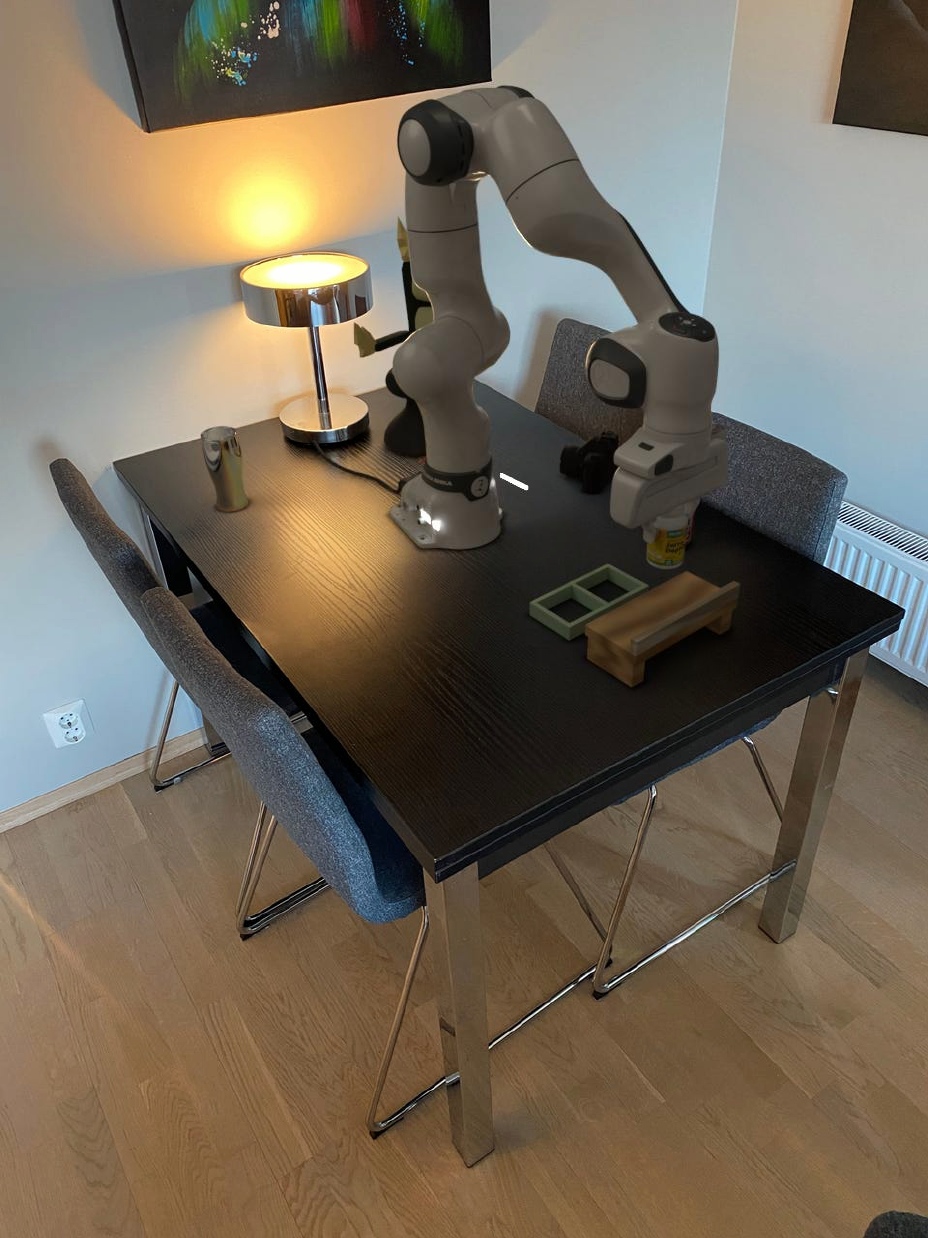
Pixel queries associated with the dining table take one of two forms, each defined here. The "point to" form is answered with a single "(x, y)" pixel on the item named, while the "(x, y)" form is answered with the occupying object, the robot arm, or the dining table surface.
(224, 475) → the beer glass
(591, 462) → the film camera
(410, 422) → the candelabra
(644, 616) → the windowsill ledge
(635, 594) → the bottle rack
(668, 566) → the supplement bottle
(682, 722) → the dining table surface
